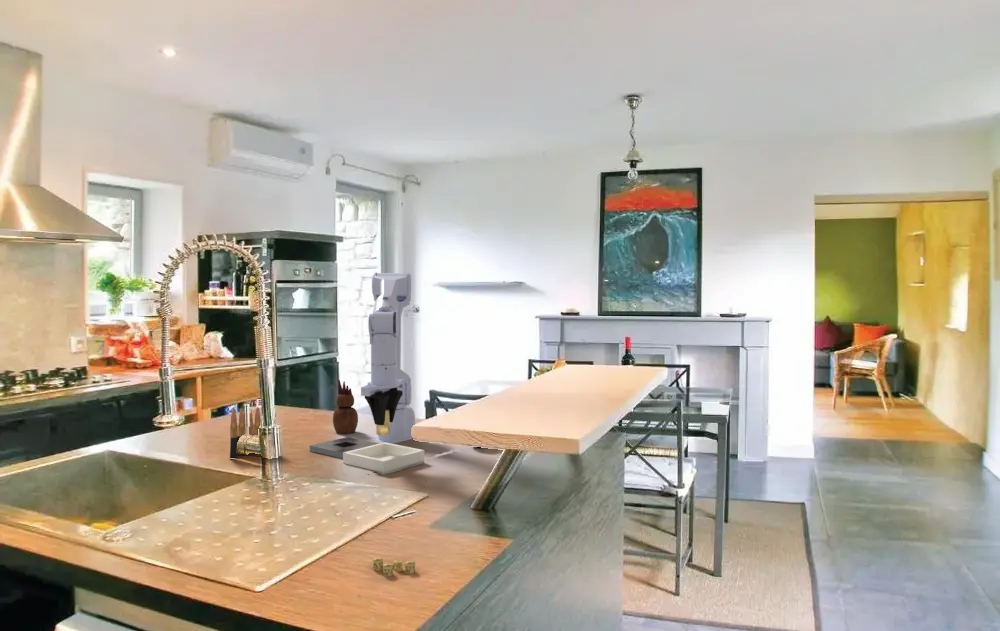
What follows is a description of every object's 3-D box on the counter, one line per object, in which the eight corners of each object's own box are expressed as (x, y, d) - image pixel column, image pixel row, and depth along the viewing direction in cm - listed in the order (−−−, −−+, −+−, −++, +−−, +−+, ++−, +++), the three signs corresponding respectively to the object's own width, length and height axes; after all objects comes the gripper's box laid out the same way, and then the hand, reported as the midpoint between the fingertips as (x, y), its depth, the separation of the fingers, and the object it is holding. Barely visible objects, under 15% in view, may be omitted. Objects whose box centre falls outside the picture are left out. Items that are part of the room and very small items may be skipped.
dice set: (416, 576, 103) (416, 563, 103) (383, 584, 100) (383, 570, 100) (403, 564, 107) (403, 552, 107) (370, 571, 105) (370, 558, 105)
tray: (384, 454, 172) (384, 442, 172) (424, 462, 164) (424, 450, 164) (343, 465, 162) (343, 452, 162) (383, 475, 154) (383, 461, 154)
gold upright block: (381, 431, 165) (381, 408, 165) (392, 433, 164) (392, 409, 163) (373, 434, 162) (373, 410, 162) (384, 435, 161) (384, 411, 161)
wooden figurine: (328, 434, 194) (328, 379, 194) (344, 430, 199) (344, 377, 198) (346, 437, 190) (345, 382, 190) (361, 434, 195) (361, 379, 194)
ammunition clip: (277, 454, 172) (277, 405, 171) (277, 456, 170) (277, 406, 170) (230, 457, 169) (229, 407, 168) (229, 459, 167) (229, 408, 166)
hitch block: (347, 444, 182) (347, 437, 182) (380, 451, 175) (380, 443, 175) (309, 453, 173) (309, 445, 173) (342, 461, 166) (342, 452, 166)
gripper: (387, 359, 170) (387, 416, 171) (349, 366, 157) (349, 427, 158) (412, 361, 167) (412, 418, 168) (375, 368, 154) (376, 430, 155)
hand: (383, 423), depth 163 cm, fingers closed on gold upright block, 3 cm apart
